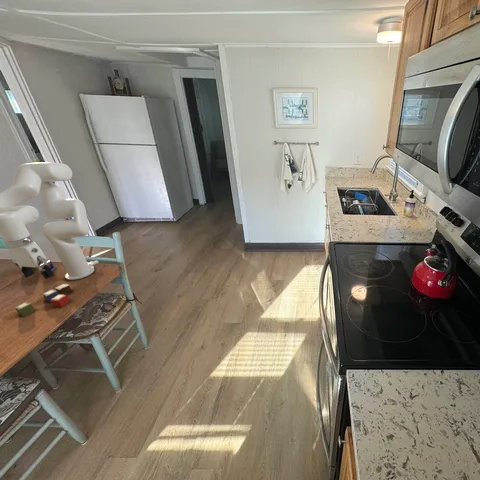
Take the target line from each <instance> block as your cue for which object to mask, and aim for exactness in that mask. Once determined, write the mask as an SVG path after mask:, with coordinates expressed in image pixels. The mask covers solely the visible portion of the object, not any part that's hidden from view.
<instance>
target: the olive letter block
mask: <svg viewBox="0 0 480 480" xmlns="http://www.w3.org/2000/svg"><path fill="white" fill-rule="evenodd" d="M14 309H15V311H16V312H17V313H18V315H20V316H22V317H25V316H28V315H31V314H32V313H34V312H36V310H35V308H34V307H33V305H32V303H29V302H27V301H25V302H23V303H21V304H18V305H17V306H14Z"/></svg>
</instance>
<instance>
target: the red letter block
mask: <svg viewBox="0 0 480 480" xmlns="http://www.w3.org/2000/svg"><path fill="white" fill-rule="evenodd" d="M70 302H71V301H70V299H69V297H68V295H61V294H59V295H57V296H55V297H54V298H52V299H51V302H50V303H52V305H53V307H56V308H62V307H64V306H65V305H67V304H69V303H70Z"/></svg>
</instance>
